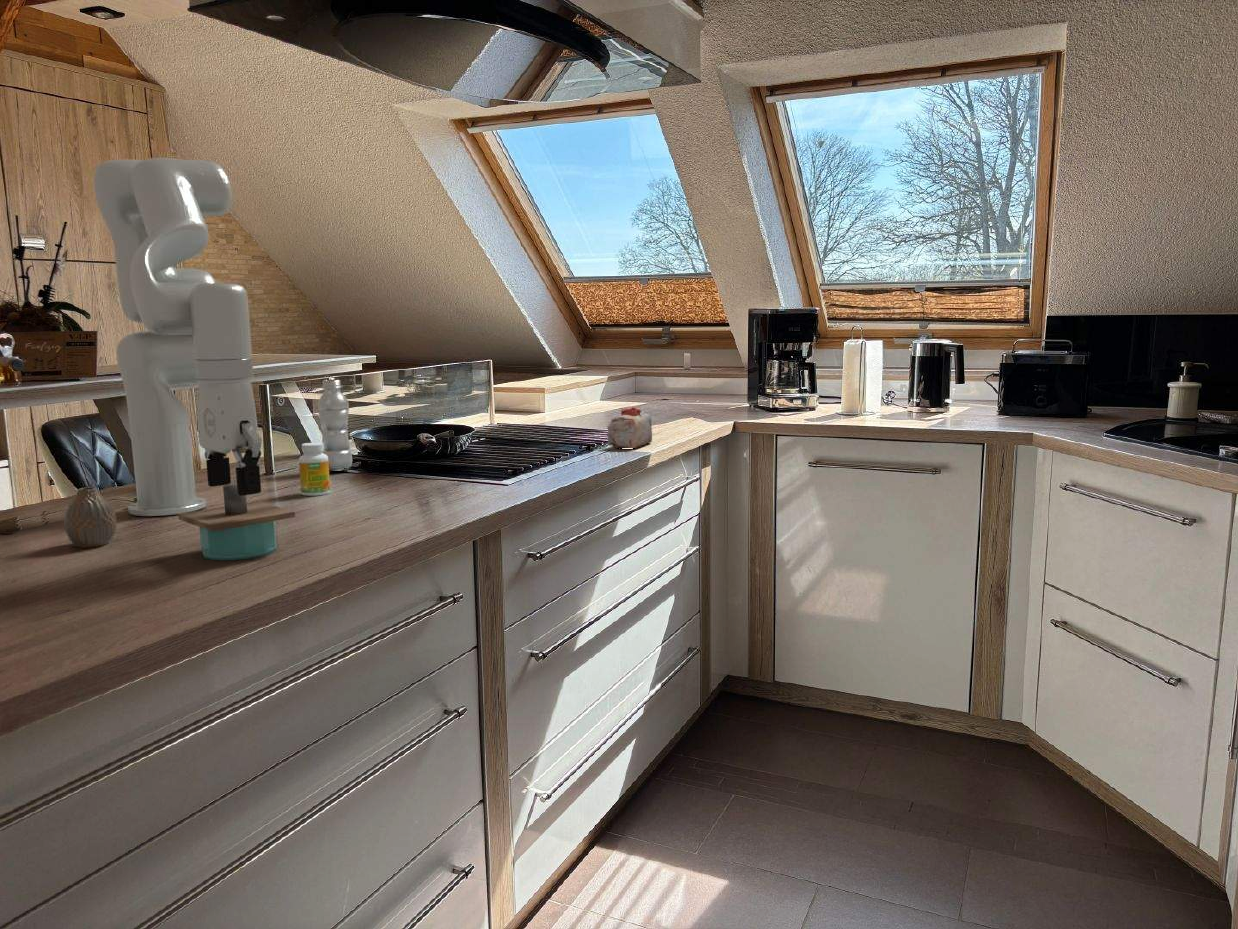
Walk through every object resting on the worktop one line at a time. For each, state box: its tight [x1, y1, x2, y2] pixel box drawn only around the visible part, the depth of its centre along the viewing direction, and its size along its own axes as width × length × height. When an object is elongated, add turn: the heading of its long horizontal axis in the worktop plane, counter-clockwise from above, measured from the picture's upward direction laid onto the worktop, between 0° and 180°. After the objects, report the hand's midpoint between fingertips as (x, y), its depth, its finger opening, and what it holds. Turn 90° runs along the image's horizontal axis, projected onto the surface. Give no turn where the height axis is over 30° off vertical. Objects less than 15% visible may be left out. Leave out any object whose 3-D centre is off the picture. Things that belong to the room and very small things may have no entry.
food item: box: [607, 407, 653, 449], centre depth 238 cm, size 14×8×10 cm, turn 158°
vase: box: [63, 486, 117, 549], centre depth 144 cm, size 7×7×9 cm
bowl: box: [199, 521, 277, 561], centre depth 139 cm, size 10×10×5 cm
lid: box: [177, 483, 296, 532], centre depth 138 cm, size 12×12×5 cm
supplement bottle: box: [298, 442, 331, 497], centre depth 182 cm, size 5×5×10 cm
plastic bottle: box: [317, 379, 353, 470], centre depth 207 cm, size 6×7×20 cm
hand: (234, 489), depth 138 cm, fingers open, 9 cm apart
